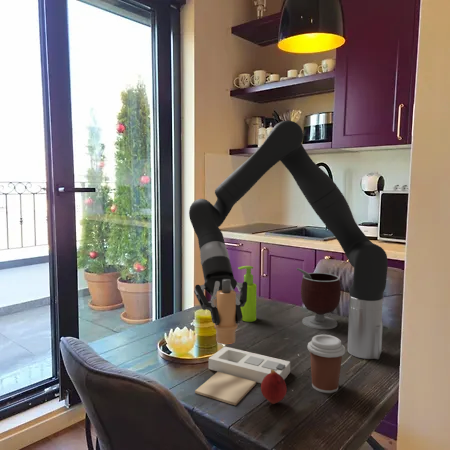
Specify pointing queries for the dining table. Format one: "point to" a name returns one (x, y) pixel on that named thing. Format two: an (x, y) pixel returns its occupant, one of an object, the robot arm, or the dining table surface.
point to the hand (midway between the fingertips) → (228, 322)
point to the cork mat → (226, 388)
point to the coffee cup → (325, 362)
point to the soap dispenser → (249, 296)
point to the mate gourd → (320, 298)
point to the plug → (226, 314)
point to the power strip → (247, 364)
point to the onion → (273, 387)
